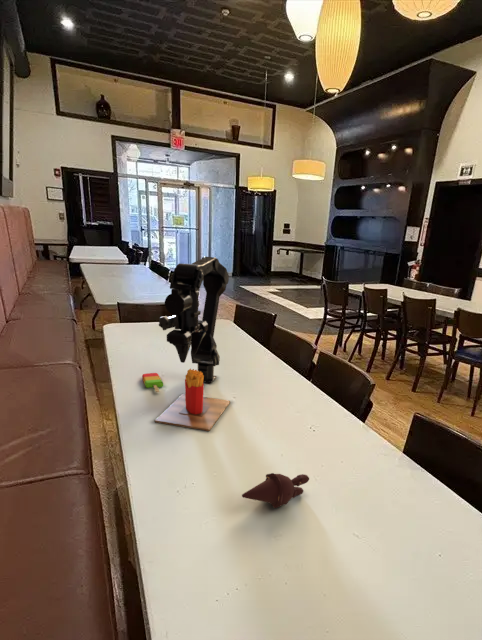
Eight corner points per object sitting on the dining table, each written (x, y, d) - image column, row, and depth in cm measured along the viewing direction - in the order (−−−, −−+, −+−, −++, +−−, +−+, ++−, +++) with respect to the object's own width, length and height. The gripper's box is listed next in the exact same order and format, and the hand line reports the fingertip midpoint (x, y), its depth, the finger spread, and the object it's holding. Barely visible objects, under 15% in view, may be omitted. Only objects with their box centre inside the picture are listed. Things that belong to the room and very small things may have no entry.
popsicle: (157, 377, 146) (157, 372, 146) (166, 393, 134) (166, 388, 133) (141, 378, 144) (141, 373, 143) (149, 395, 131) (148, 389, 131)
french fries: (183, 405, 125) (182, 367, 120) (195, 403, 127) (195, 366, 122) (193, 416, 118) (193, 377, 114) (206, 414, 120) (207, 375, 116)
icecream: (253, 498, 77) (319, 486, 84) (239, 469, 82) (302, 460, 89) (244, 522, 80) (308, 509, 88) (232, 493, 86) (293, 482, 93)
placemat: (182, 395, 133) (182, 393, 133) (230, 402, 131) (230, 400, 131) (154, 422, 115) (154, 420, 115) (209, 431, 113) (209, 429, 112)
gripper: (175, 299, 132) (176, 346, 138) (148, 310, 115) (150, 363, 121) (209, 303, 130) (208, 351, 136) (186, 315, 113) (186, 368, 119)
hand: (188, 357), depth 128 cm, fingers open, 9 cm apart
